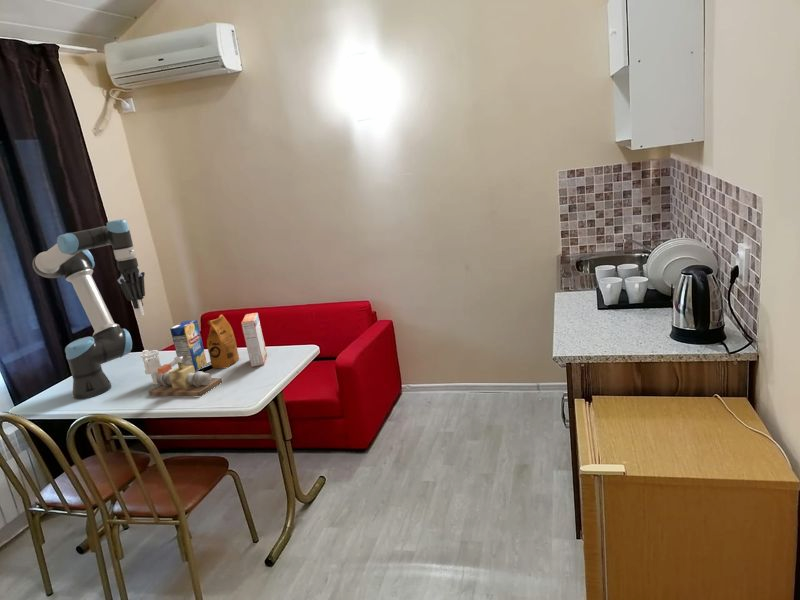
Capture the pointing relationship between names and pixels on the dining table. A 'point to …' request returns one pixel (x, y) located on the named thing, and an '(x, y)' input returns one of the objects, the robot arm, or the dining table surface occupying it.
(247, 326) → the cracker box
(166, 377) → the valve stand
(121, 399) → the dining table surface
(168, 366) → the valve lever
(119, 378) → the dining table surface
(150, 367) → the white upright piece
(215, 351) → the coffee package
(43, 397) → the dining table surface
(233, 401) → the dining table surface
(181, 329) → the beverage box
